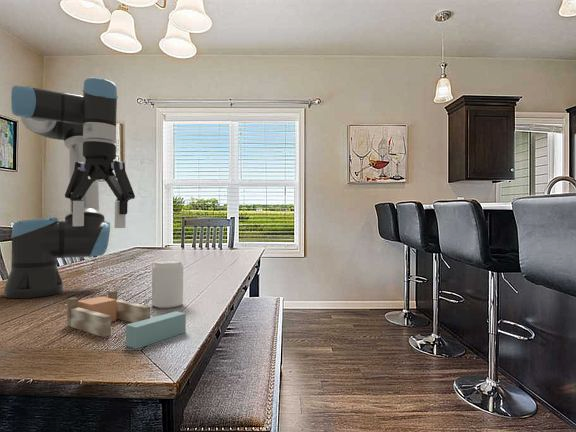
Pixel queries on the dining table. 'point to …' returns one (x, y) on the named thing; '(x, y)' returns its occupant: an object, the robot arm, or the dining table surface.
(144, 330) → the stop block
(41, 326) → the dining table surface
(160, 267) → the beverage can
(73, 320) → the parallel beige rails
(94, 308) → the block
